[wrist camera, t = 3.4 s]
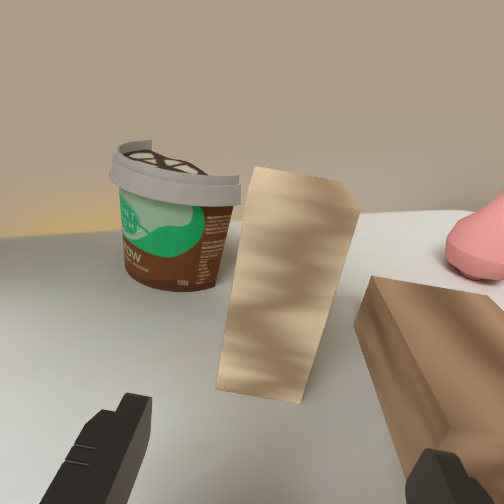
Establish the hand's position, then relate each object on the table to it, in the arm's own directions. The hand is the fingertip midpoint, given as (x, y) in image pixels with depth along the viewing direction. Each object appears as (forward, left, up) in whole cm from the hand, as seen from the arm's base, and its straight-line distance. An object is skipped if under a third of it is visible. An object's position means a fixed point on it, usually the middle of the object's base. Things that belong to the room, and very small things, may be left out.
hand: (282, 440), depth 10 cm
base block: (+12, +10, -7) cm, 18 cm away
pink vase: (+24, +32, -7) cm, 40 cm away
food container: (-10, +20, -7) cm, 23 cm away
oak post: (0, +10, -7) cm, 13 cm away
